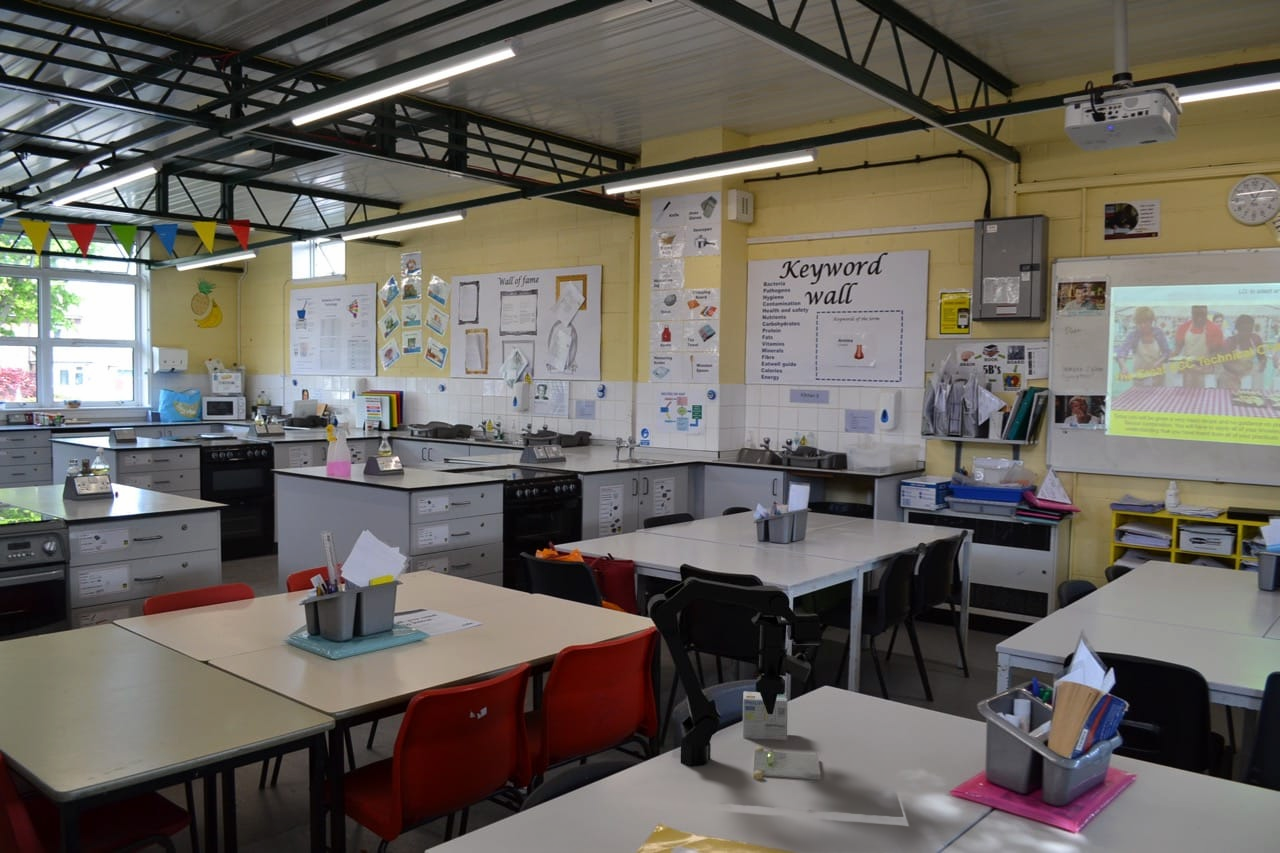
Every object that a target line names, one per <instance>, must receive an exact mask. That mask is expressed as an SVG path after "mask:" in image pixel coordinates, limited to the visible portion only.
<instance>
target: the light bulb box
mask: <svg viewBox="0 0 1280 853" xmlns="http://www.w3.org/2000/svg"><path fill="white" fill-rule="evenodd" d="M742 738H743V739H757V740H777V741H779V740H780V741H781V740H782V741H787V740H788V697H787V693H786V692H785V694H778V695H777V699H776V703H775V707H774V711H773V714H772V715H771V714H768V713H767V711H766V708H765V705H764V702H763V700H762V697H761V694H760V693H758V692H756V691H747V690H744V691H743V698H742Z"/></svg>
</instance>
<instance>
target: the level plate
mask: <svg viewBox="0 0 1280 853" xmlns="http://www.w3.org/2000/svg"><path fill="white" fill-rule="evenodd" d="M756 770H759V771H762V772H763V776H762V777H773V778H774V777H776V778H786V779H787V778H788V779H789V778H791V779H804V780H818V781H821V769H820V760H819V755H818V754H809V753H796V752H795V753H794V752H793V753H792V752H780V751H774V750H773V749H768V750H767V751H766V750H763V751H755V750H754V759H753V772H754V771H756Z"/></svg>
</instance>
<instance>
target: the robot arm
mask: <svg viewBox="0 0 1280 853" xmlns="http://www.w3.org/2000/svg"><path fill="white" fill-rule="evenodd" d="M697 598H698V599H705V600H709V601H717V602H723V603H729V604H734V605H735V604H736V605H741V606H746V607H749V608H752V609H754V610H756V611H758V612H757V614H756V615H755V616H753V617H752V618H751V622H752V623H753V624H754V625H755V626H760V631H759V633H760V634H759V650H758V658H759V659H758V660H759V662H758V671H757V672H758V674H760V675H759V676H758V677H757V678H756V681H755V692H758V693H760V694H761V697H762V700H763V702H764V705H765V708H766V711H767V713H768V714H771V715H772V714H773V711H774V707H775V703H776V699H777V695H778V694H785V693H786V679H785V678H783V677H787V674H788V675H789V676H792V677H794V678H796V679H798V680H799V681H801V682H804V683H806V682H807V680H808V678H809V675H810V673H811V669H812V665H811V664H810V662H809V661H806V660H807V659H806V654H803V653H802V652H798V653H797V654H796V655H795V656H794V655H793V654H792V655H790V654H788V648H786V646H787V638H788V640H789V641H791V642H792V645H794V646H796V645H797V646H819V645H820V644H821V642H822V634H823V633H822V631H821V623H820V616H819V615H818V614H817V613H806V614H803V613H802V614H801V613H799V614H797V613H796V612H795V611H794V610H792V608H791V607H790V605H791V604H790V602H791V600H790V599H789V596H788V595H787V594H786V593H785V591H783V589H781V588H780V587H778V586H776V585H756V586H755V585H754V586H744V585H743V586H742V585H738V584H731V583H725V582H719V581H712V580H708V579H702V578H698V577H695V576H689V577H686V579H685V580H683V581H682V582H681V583H679V584H677V585H675V586H673V587H671V588H670V589H668V590H666V591H665V592H664V593H657V594H655V595H653V596H652V597H651V598H650V599H649V601H648V603H647V611H648V615H649V616H650V618H651V620H652V623H653V624H654V626H655V628H656V629H657V630H658V632H659V634H660V635H661V637H662V638H663V639H664V641H665V643H666V646H667V649H668V651H669V654H670V656H671V659H672V661H673V664H674V666H675V669H676V672H677V674H678V677H679V680H680V682H681V685H682V687H683V689H684V692H685V696H686V701H687V708H688V712H689V715H688V716H687V717H686V718H685V719H684V720H682V722H680V727H681V731H682V734H683V737H682V739H681V740H680V764H682V765H685V766H688V767H690V768H693V767H703V766H705V765H707V764H708V763H709V761H710V760H711V751H712V750H711V749H712V748H711V739H712V737H713V736H714V735H715V734H716V733H717V731H718V730H719V729H720V726H721V725H720V724H721V722H720V718H722V716H721V713H720V711H719V710H718V707H717V705H716V702H715V699H714V696H713V695H712V692H711V691H709V692H708V693H705V692H704V691H703V688H702V686H701V685H700V682H699V680H698V677H697V675H696V671H695V670H694V667H693V664H692V662H691V660H690V657H689V654H688V652H687V649H686V647H685V646H686V645H685V642H683V639H682V636H681V632H680V624H679V619H678V613H680V612H681V611H683V610H684V609H685V608H686V607H688V605H690V604H691V603H692V602H693V601H694V600H695V599H697ZM763 613H764V614H765V615H764V614H763ZM766 614H767V615H766ZM778 617H781V618H782V619H778Z"/></svg>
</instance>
